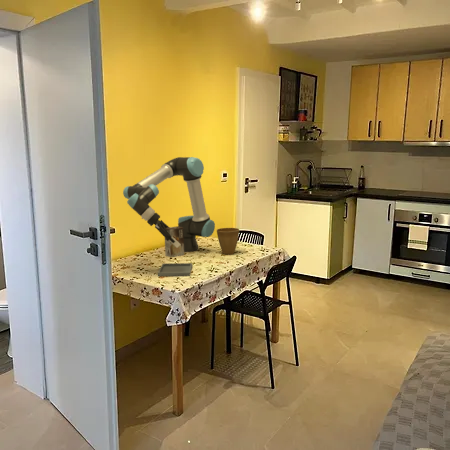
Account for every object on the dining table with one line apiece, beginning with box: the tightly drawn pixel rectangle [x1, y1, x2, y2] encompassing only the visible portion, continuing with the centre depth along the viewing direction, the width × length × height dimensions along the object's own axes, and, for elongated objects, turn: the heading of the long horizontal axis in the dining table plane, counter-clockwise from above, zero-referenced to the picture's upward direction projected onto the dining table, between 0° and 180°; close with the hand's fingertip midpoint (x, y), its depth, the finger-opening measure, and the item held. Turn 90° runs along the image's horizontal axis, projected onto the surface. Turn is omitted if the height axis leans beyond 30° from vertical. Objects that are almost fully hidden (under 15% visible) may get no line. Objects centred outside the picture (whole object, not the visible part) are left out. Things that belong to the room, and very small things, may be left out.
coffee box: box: [164, 225, 185, 259], centre depth 255 cm, size 9×6×16 cm
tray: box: [157, 262, 193, 277], centre depth 258 cm, size 20×18×2 cm
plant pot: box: [216, 227, 240, 255], centre depth 298 cm, size 15×15×16 cm
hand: (179, 244), depth 255 cm, fingers closed on coffee box, 10 cm apart
